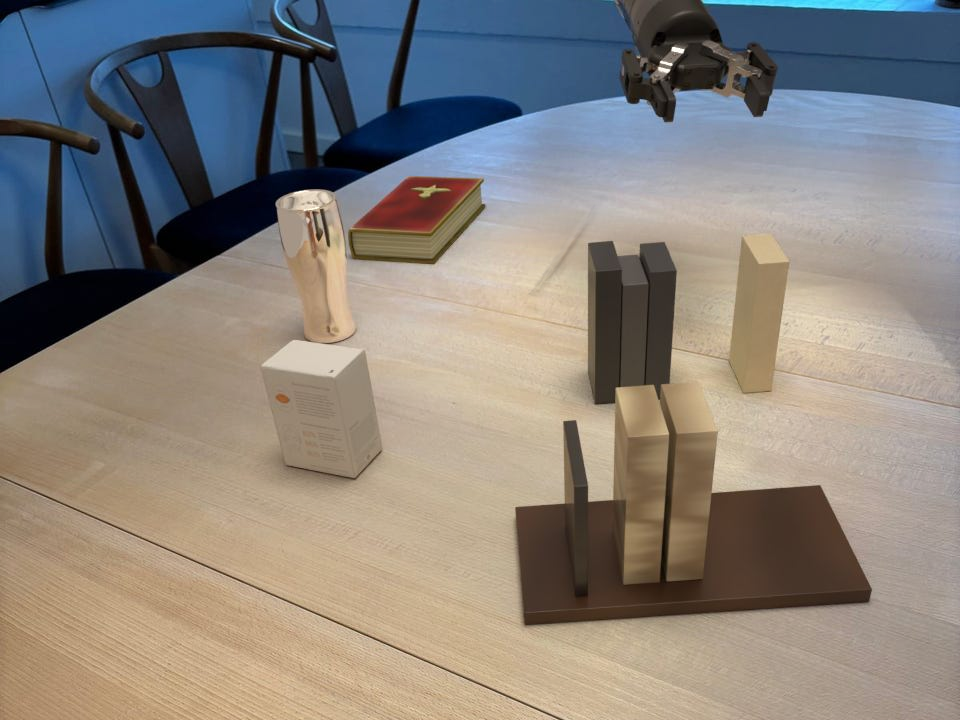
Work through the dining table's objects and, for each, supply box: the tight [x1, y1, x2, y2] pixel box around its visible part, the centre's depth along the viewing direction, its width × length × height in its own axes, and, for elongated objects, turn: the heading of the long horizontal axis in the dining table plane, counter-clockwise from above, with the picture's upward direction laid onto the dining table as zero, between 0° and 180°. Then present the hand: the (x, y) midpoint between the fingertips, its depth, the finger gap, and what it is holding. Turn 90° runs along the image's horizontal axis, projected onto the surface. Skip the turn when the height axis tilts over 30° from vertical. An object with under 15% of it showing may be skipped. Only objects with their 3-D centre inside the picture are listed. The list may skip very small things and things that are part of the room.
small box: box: [260, 339, 383, 479], centre depth 91 cm, size 8×6×10 cm
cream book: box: [728, 232, 790, 394], centre depth 96 cm, size 3×7×13 cm, turn 1°
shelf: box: [514, 381, 873, 625], centre depth 74 cm, size 26×14×14 cm, turn 91°
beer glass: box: [275, 188, 357, 344], centre depth 110 cm, size 7×7×15 cm
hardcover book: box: [347, 175, 487, 265], centre depth 135 cm, size 12×21×4 cm, turn 161°
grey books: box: [587, 240, 678, 405], centre depth 96 cm, size 7×7×14 cm
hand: (716, 109), depth 90 cm, fingers open, 8 cm apart
